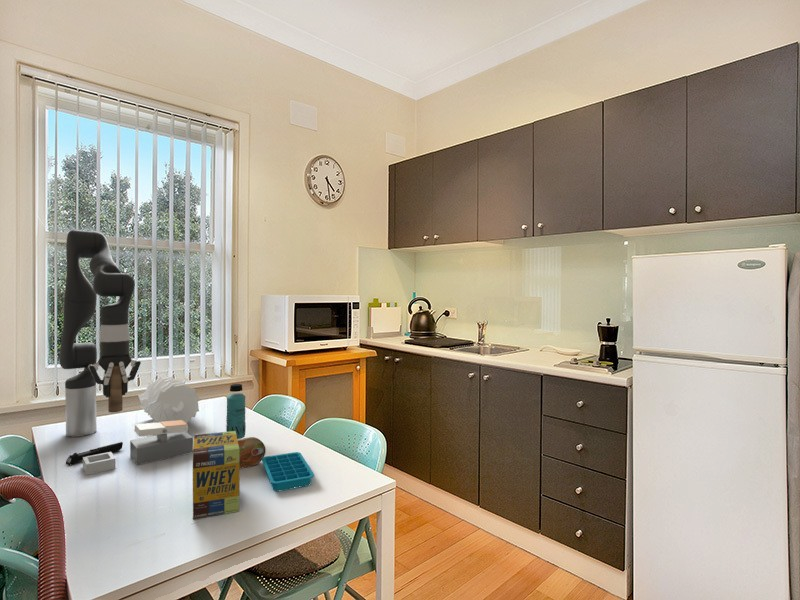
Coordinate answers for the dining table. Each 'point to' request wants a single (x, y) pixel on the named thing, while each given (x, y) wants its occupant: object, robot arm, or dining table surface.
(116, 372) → the wooden peg
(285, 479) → the ice cube tray
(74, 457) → the electric trimmer
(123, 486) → the dining table surface
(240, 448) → the tin
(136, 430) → the rocker switch
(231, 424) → the beverage bottle
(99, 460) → the holder
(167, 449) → the switch box
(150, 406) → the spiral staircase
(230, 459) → the protein box
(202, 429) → the dining table surface
